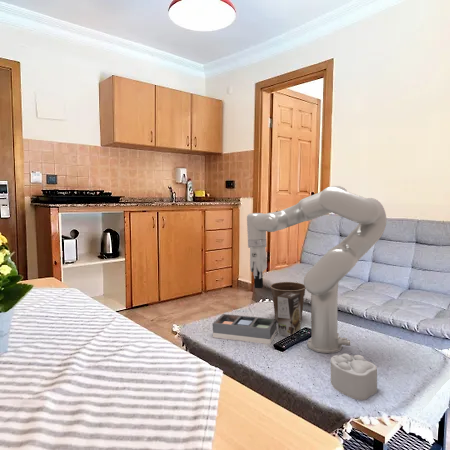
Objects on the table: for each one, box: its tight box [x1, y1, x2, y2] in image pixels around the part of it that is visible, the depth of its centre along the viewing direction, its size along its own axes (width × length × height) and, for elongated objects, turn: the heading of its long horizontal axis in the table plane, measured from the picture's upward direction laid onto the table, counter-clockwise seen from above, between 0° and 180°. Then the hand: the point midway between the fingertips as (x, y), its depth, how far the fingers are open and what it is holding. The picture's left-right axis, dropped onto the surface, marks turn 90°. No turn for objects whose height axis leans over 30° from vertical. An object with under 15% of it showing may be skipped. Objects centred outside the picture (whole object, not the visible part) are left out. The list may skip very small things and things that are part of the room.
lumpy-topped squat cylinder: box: [330, 353, 378, 401], centre depth 104 cm, size 10×13×9 cm
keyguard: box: [212, 313, 278, 339], centre depth 146 cm, size 24×12×4 cm, turn 69°
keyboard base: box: [212, 328, 278, 345], centre depth 146 cm, size 24×12×2 cm, turn 69°
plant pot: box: [269, 281, 307, 323], centre depth 161 cm, size 16×16×16 cm
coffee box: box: [277, 292, 302, 337], centre depth 147 cm, size 9×6×16 cm
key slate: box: [237, 320, 252, 326], centre depth 145 cm, size 5×5×2 cm
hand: (258, 287), depth 144 cm, fingers closed
